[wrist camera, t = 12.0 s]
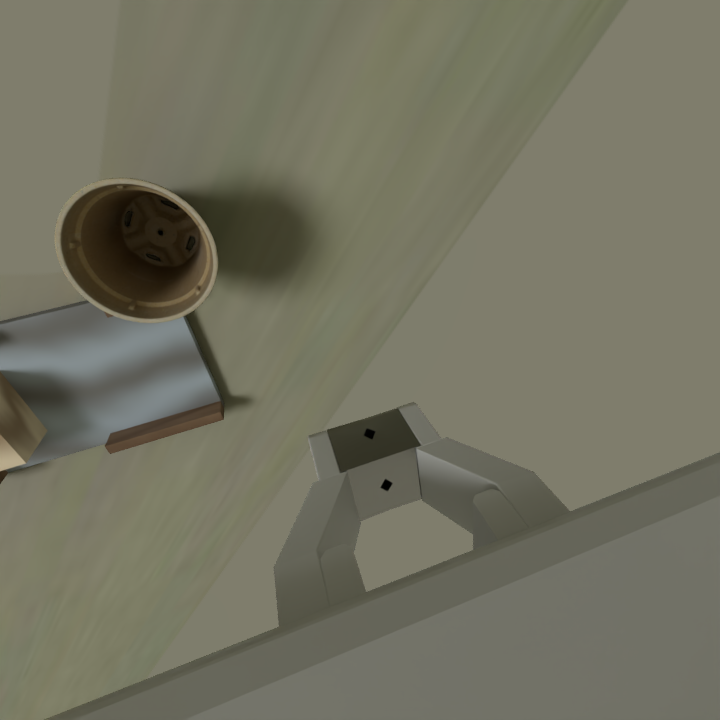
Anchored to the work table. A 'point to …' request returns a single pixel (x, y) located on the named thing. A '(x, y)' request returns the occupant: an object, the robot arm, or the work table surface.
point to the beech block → (17, 428)
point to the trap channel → (106, 379)
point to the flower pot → (135, 250)
